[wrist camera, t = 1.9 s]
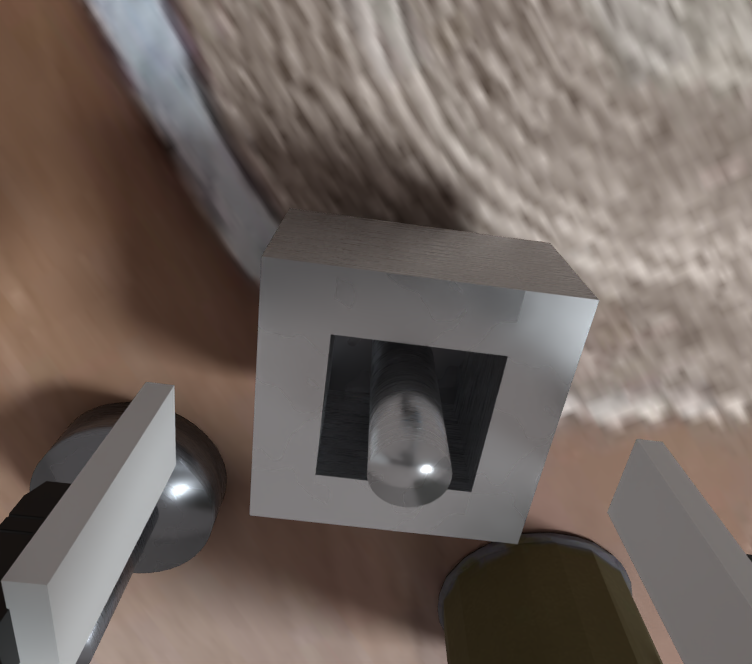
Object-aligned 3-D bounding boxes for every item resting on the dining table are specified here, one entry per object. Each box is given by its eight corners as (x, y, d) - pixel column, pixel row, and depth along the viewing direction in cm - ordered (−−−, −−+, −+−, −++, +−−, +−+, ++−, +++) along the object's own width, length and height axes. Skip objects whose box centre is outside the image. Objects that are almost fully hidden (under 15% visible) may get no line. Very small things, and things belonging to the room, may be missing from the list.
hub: (49, 392, 26) (-104, 550, 18) (228, 413, 26) (158, 576, 18) (68, 524, 29) (-52, 705, 21) (225, 540, 30) (166, 725, 22)
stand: (325, 224, 22) (286, 343, 13) (498, 246, 22) (574, 378, 13) (311, 374, 25) (271, 555, 16) (463, 392, 25) (507, 580, 16)
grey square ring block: (289, 208, 19) (261, 256, 15) (550, 243, 20) (599, 300, 15) (275, 425, 23) (249, 515, 19) (492, 450, 24) (517, 544, 19)
